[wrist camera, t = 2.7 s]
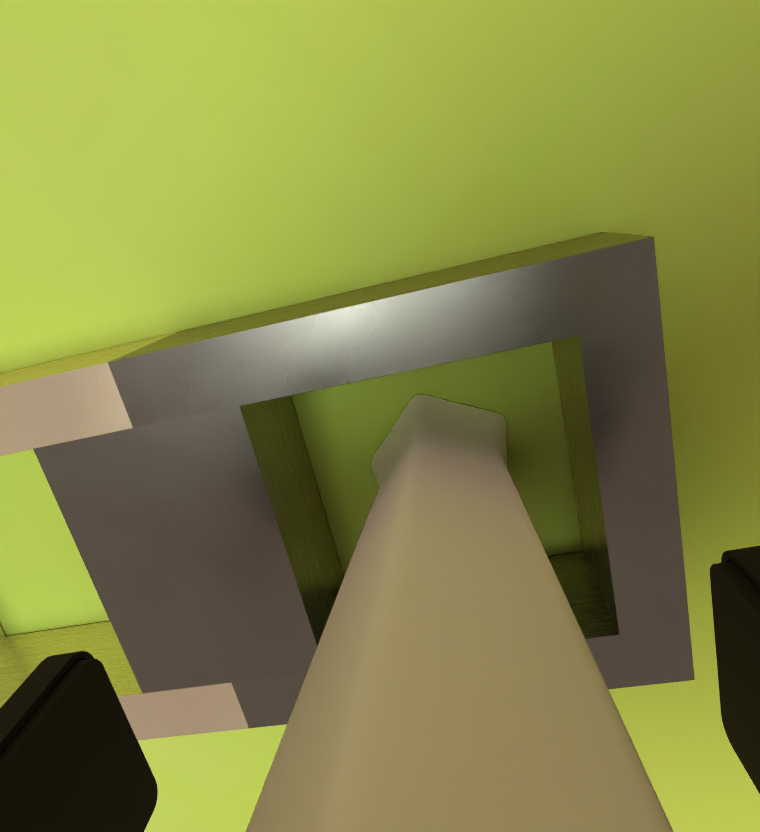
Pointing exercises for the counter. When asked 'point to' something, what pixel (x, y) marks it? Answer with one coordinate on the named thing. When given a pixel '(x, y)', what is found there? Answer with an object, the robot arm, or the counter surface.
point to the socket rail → (297, 490)
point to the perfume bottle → (453, 666)
